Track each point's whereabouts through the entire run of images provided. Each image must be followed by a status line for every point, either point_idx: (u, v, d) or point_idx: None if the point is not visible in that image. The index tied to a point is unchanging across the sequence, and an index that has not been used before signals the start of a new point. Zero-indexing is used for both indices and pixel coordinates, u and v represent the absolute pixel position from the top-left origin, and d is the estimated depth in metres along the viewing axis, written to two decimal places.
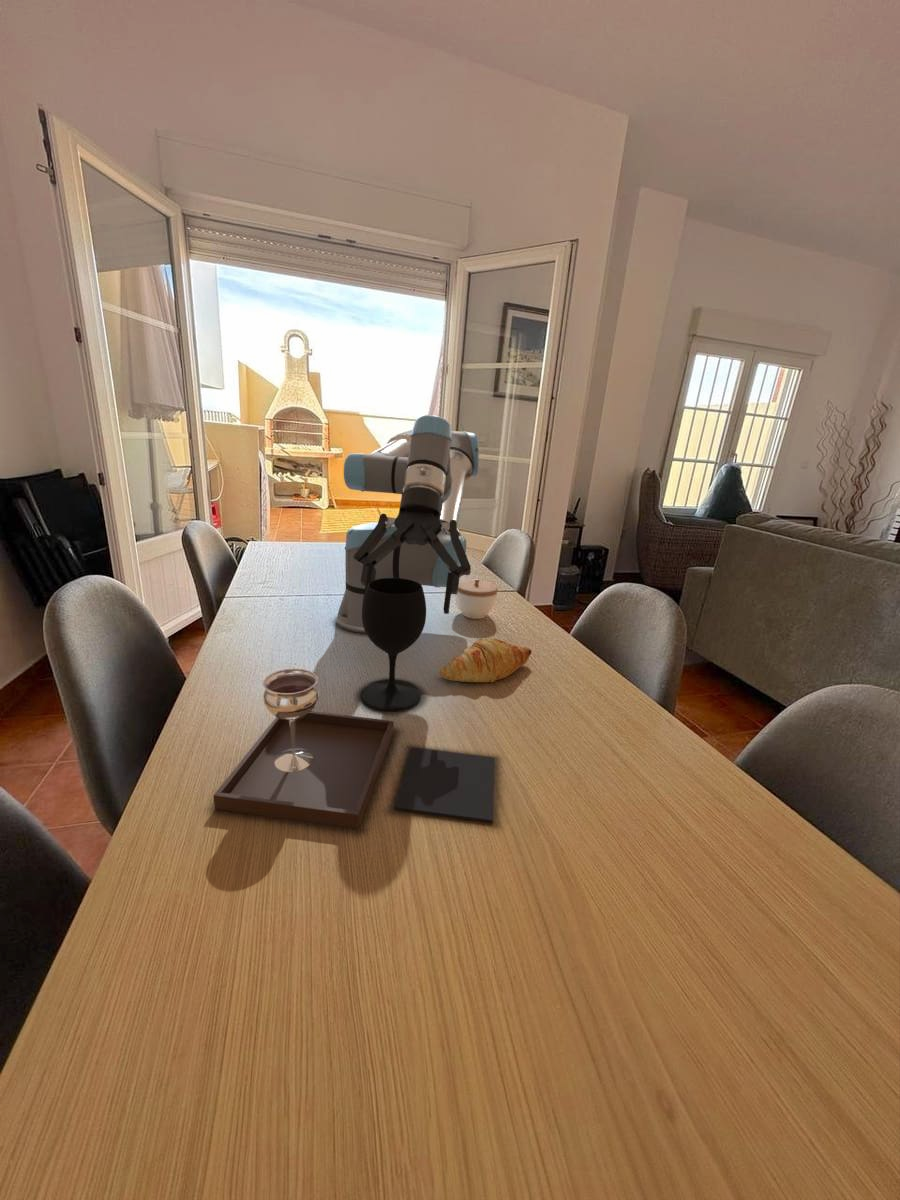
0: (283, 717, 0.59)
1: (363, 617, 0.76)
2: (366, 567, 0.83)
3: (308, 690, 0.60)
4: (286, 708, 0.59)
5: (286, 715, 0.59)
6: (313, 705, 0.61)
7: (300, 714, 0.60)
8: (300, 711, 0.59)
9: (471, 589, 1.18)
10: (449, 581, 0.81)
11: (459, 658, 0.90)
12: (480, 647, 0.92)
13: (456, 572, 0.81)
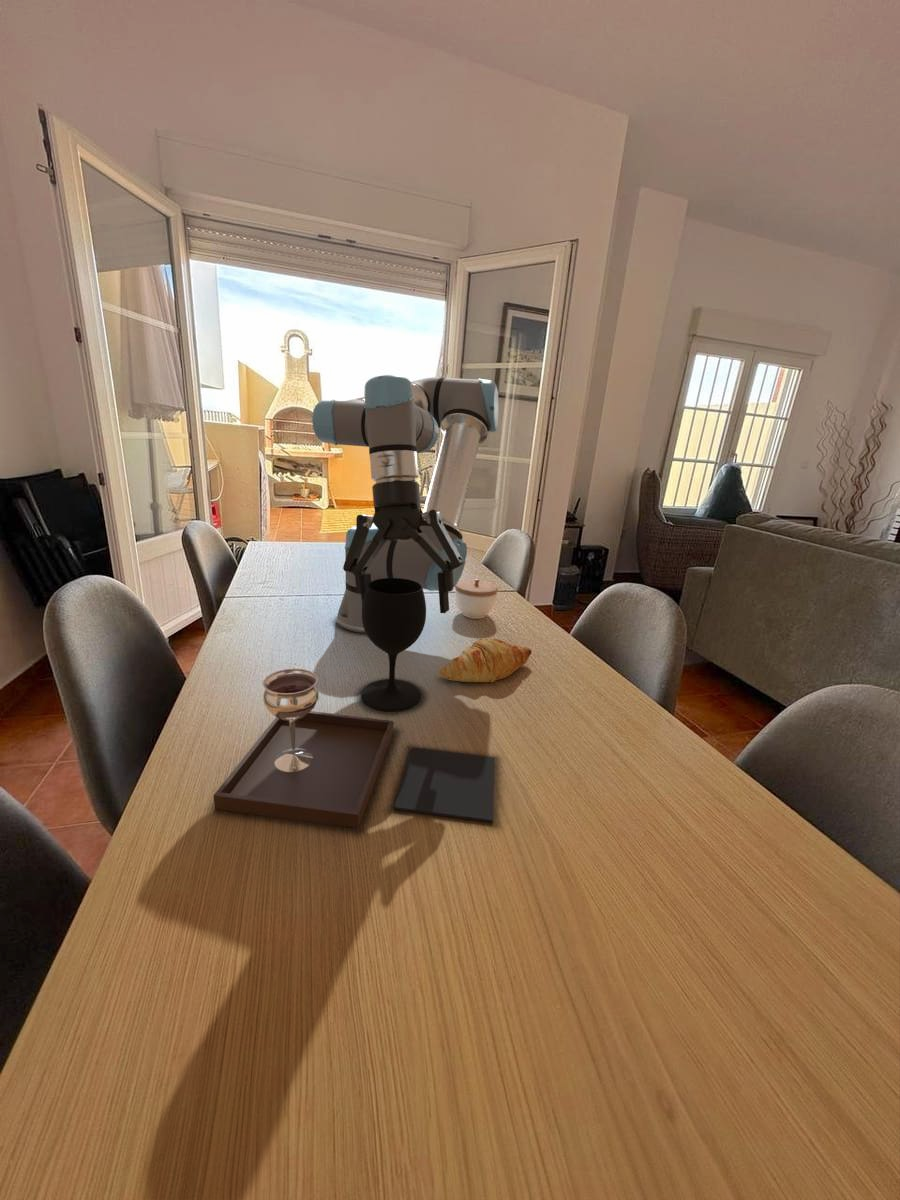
0: (283, 717, 0.59)
1: (363, 617, 0.76)
2: (358, 577, 0.81)
3: (308, 690, 0.60)
4: (286, 708, 0.59)
5: (286, 715, 0.59)
6: (313, 705, 0.61)
7: (300, 714, 0.60)
8: (300, 711, 0.59)
9: (471, 589, 1.18)
10: (440, 582, 0.76)
11: (459, 658, 0.90)
12: (480, 647, 0.92)
13: (446, 571, 0.76)
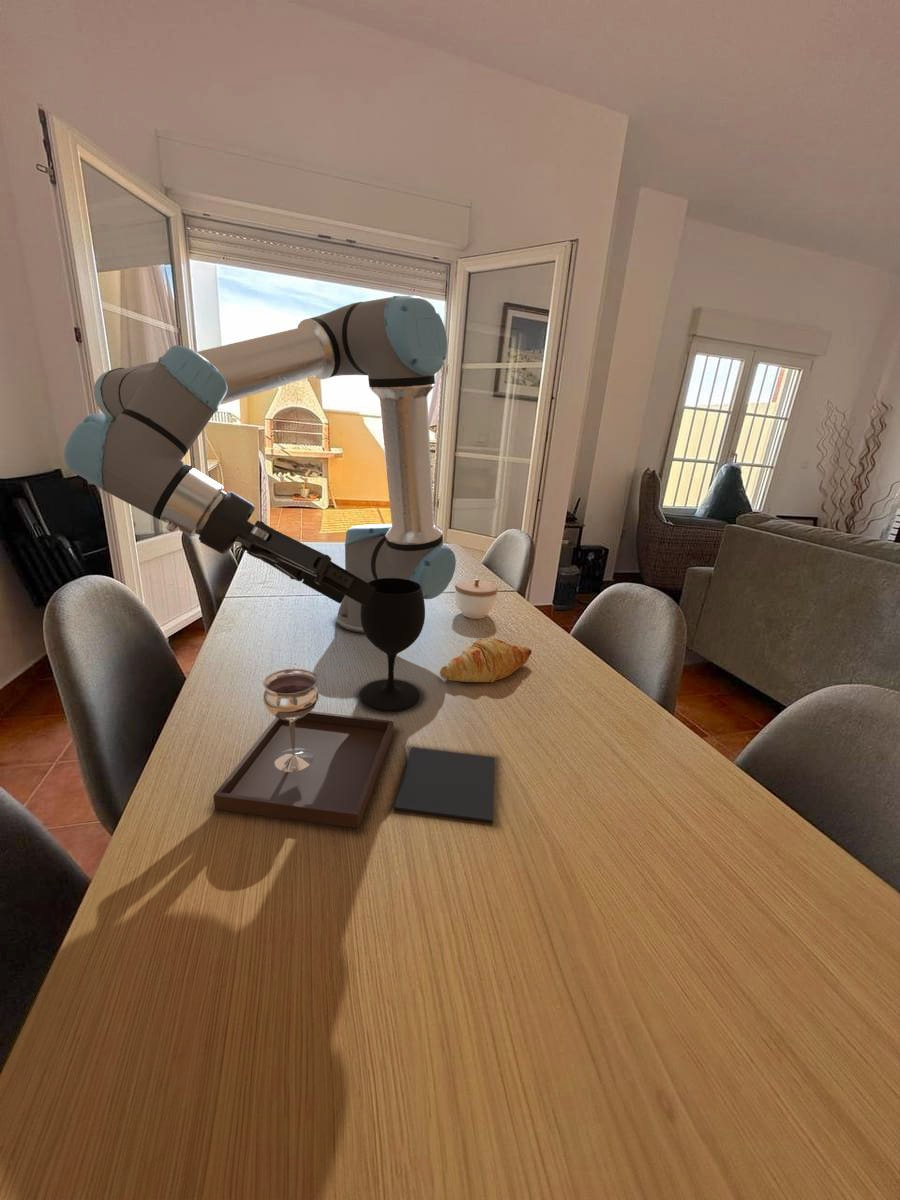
0: (283, 717, 0.59)
1: (362, 618, 0.76)
2: None
3: (308, 690, 0.60)
4: (286, 708, 0.59)
5: (286, 715, 0.59)
6: (313, 705, 0.61)
7: (300, 714, 0.60)
8: (300, 711, 0.59)
9: (471, 589, 1.18)
10: (332, 587, 0.61)
11: (459, 658, 0.90)
12: (480, 647, 0.92)
13: (322, 580, 0.59)
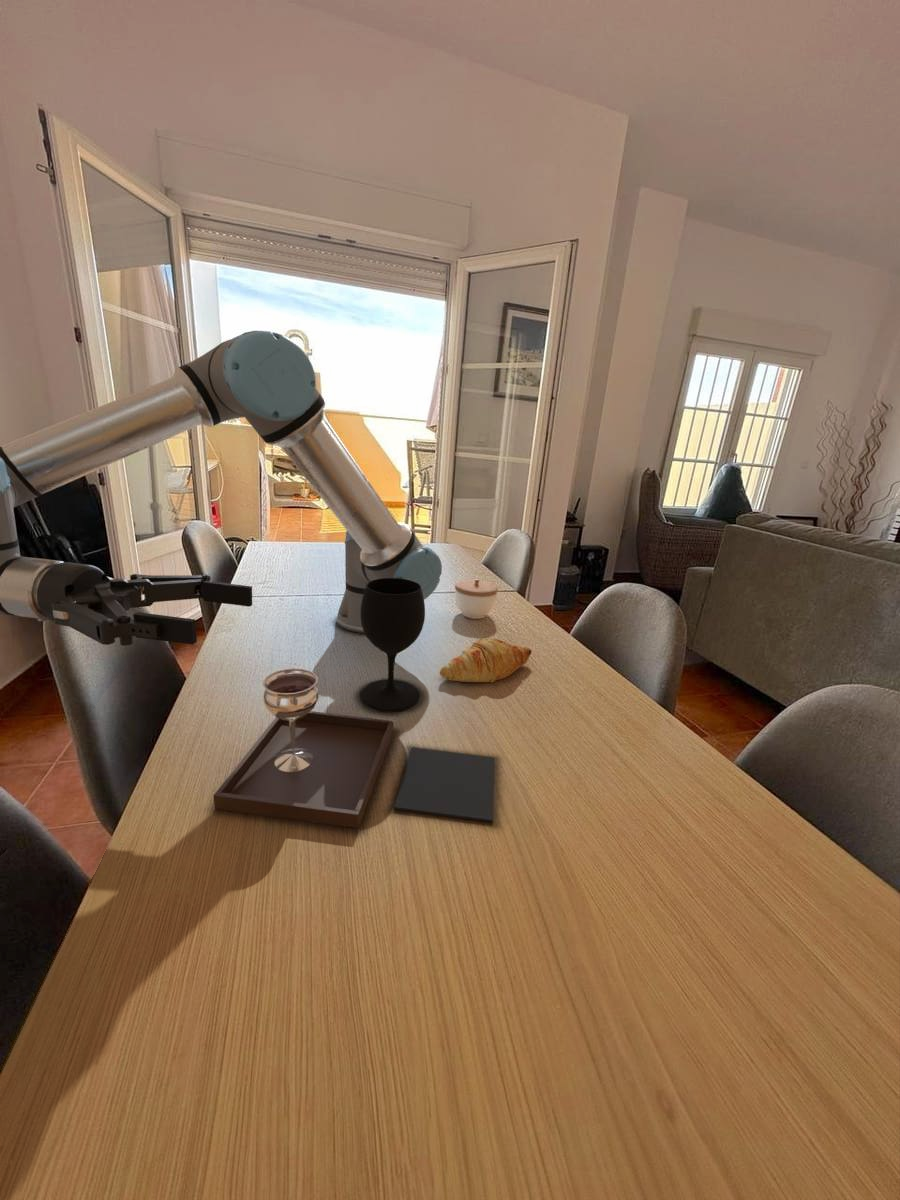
0: (283, 717, 0.59)
1: (362, 618, 0.76)
2: None
3: (308, 690, 0.60)
4: (286, 708, 0.59)
5: (286, 715, 0.59)
6: (313, 705, 0.61)
7: (300, 714, 0.60)
8: (300, 711, 0.59)
9: (471, 589, 1.18)
10: (151, 638, 0.54)
11: (459, 658, 0.90)
12: (480, 647, 0.92)
13: (130, 639, 0.53)
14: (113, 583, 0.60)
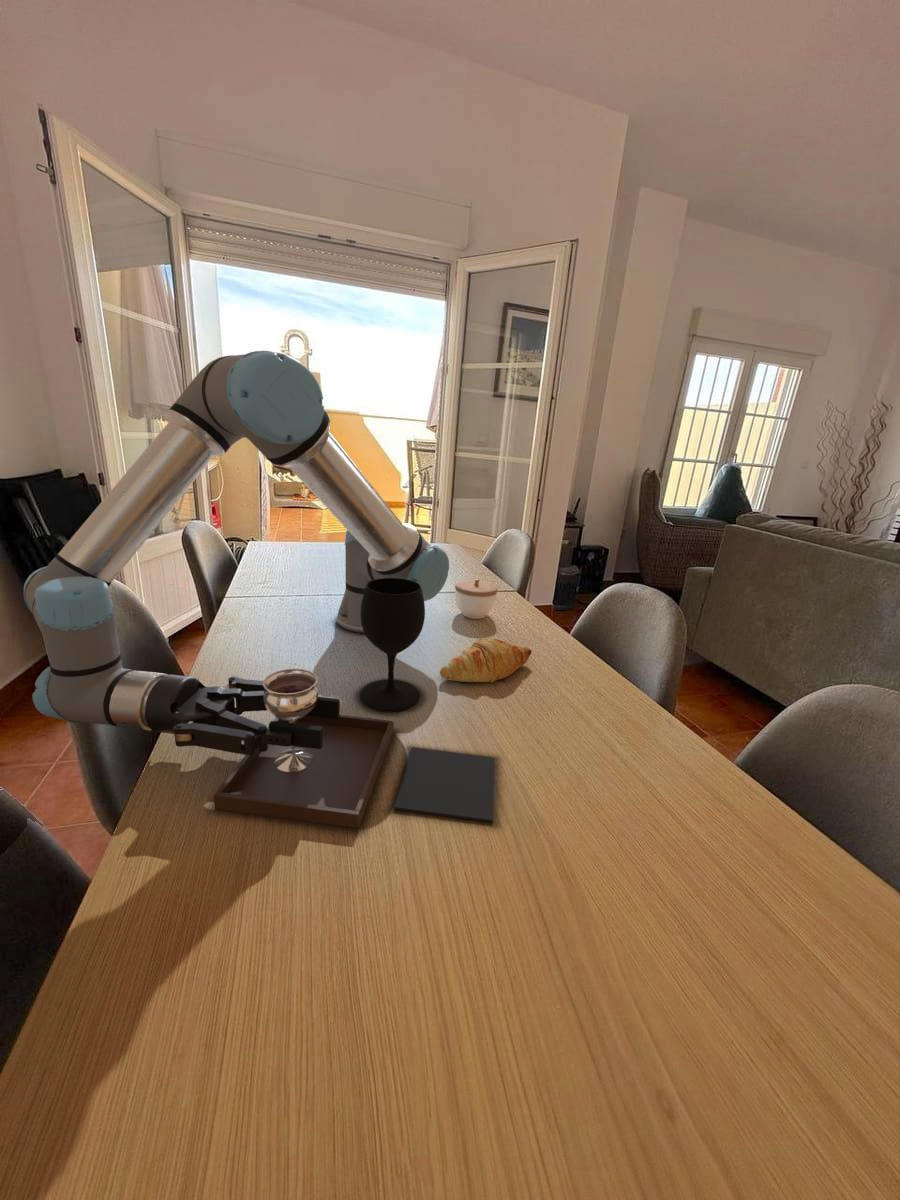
0: (283, 717, 0.59)
1: (362, 618, 0.76)
2: None
3: (308, 690, 0.60)
4: (286, 708, 0.59)
5: (286, 715, 0.59)
6: (313, 705, 0.61)
7: (300, 714, 0.60)
8: (300, 711, 0.59)
9: (471, 589, 1.18)
10: None
11: (459, 658, 0.90)
12: (480, 647, 0.92)
13: (267, 744, 0.59)
14: (210, 694, 0.64)
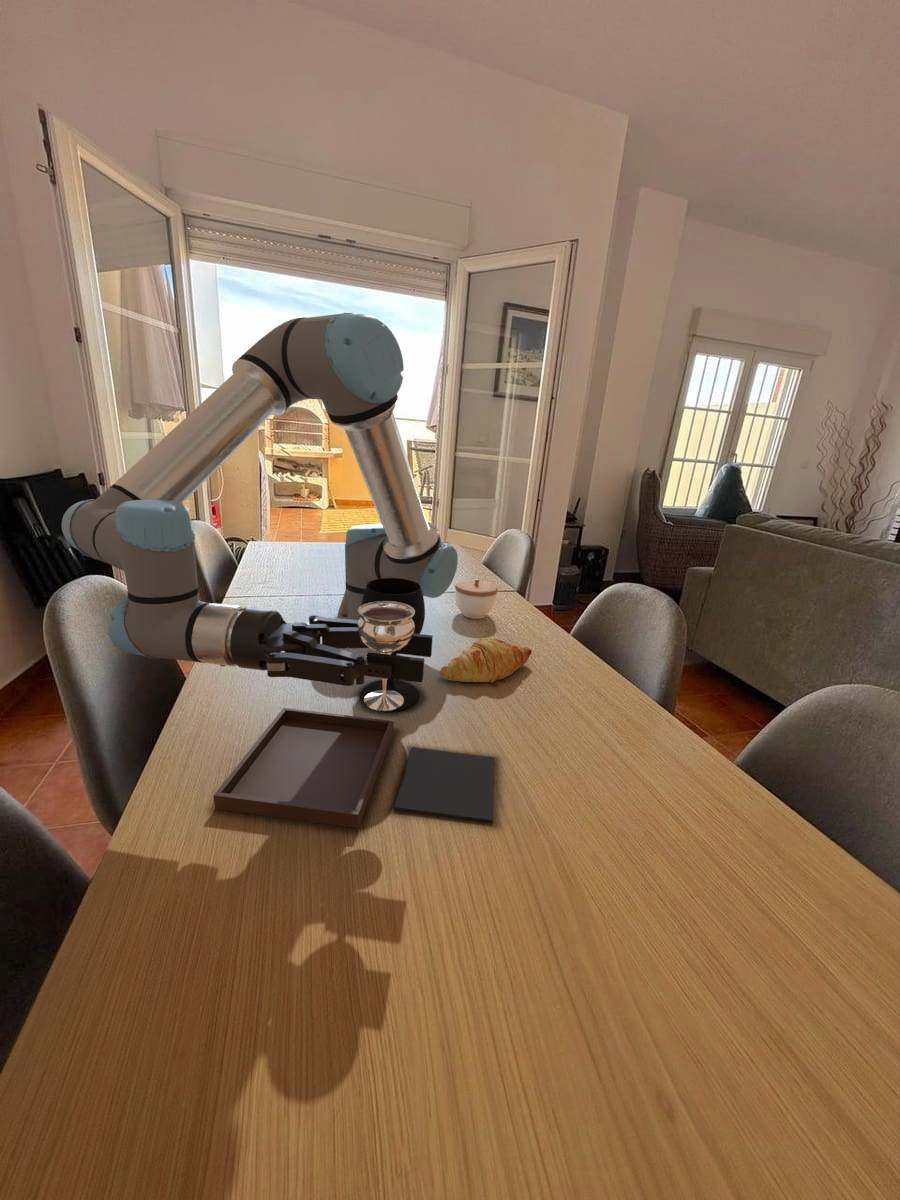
0: (381, 648, 0.55)
1: None
2: None
3: (408, 619, 0.55)
4: (386, 637, 0.54)
5: (385, 646, 0.55)
6: (411, 637, 0.57)
7: (399, 645, 0.55)
8: (399, 641, 0.55)
9: (471, 589, 1.18)
10: (380, 676, 0.55)
11: (459, 658, 0.90)
12: (480, 647, 0.92)
13: None
14: (296, 627, 0.59)
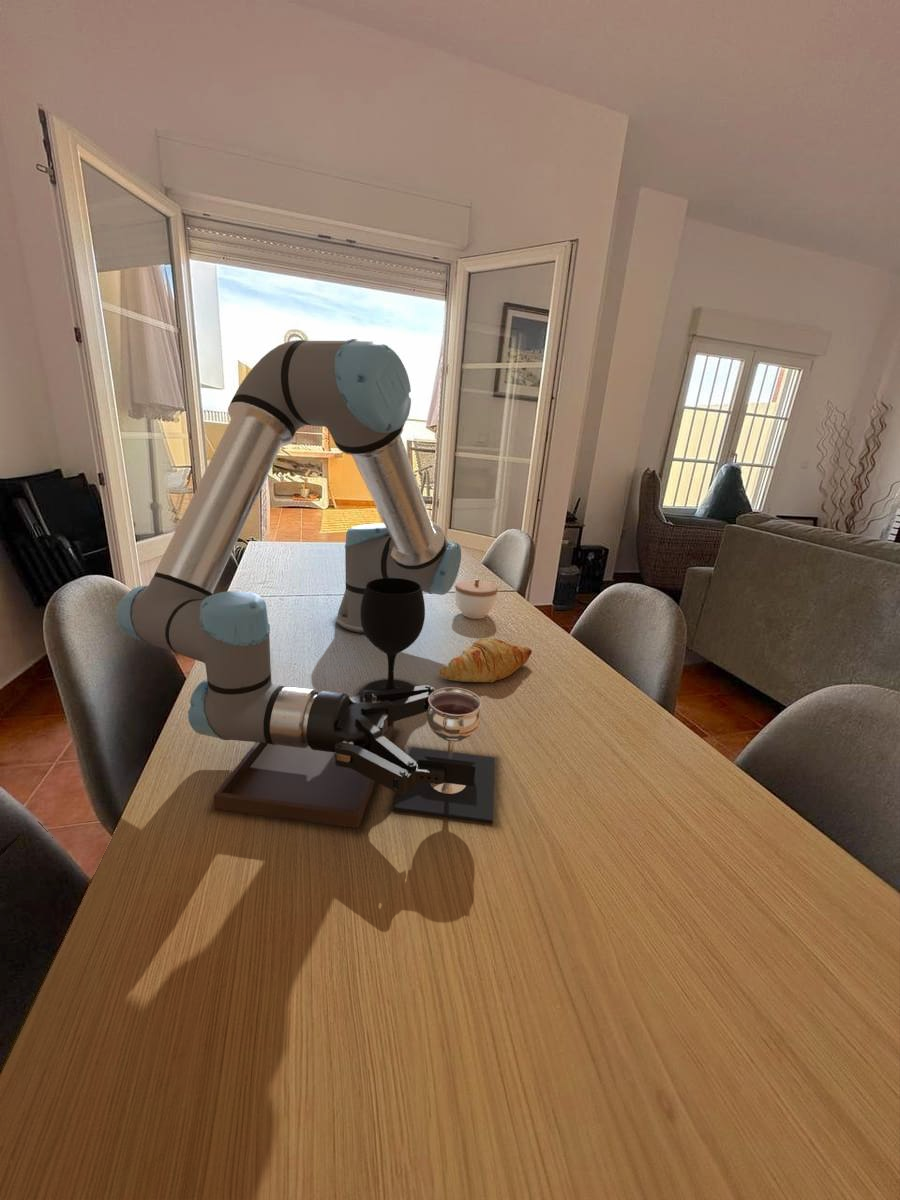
0: (451, 738, 0.58)
1: (362, 618, 0.76)
2: None
3: (477, 711, 0.58)
4: (457, 729, 0.57)
5: (455, 737, 0.58)
6: None
7: (468, 735, 0.58)
8: (469, 732, 0.58)
9: (471, 589, 1.18)
10: None
11: (459, 658, 0.90)
12: (480, 647, 0.92)
13: (415, 783, 0.55)
14: (365, 711, 0.62)
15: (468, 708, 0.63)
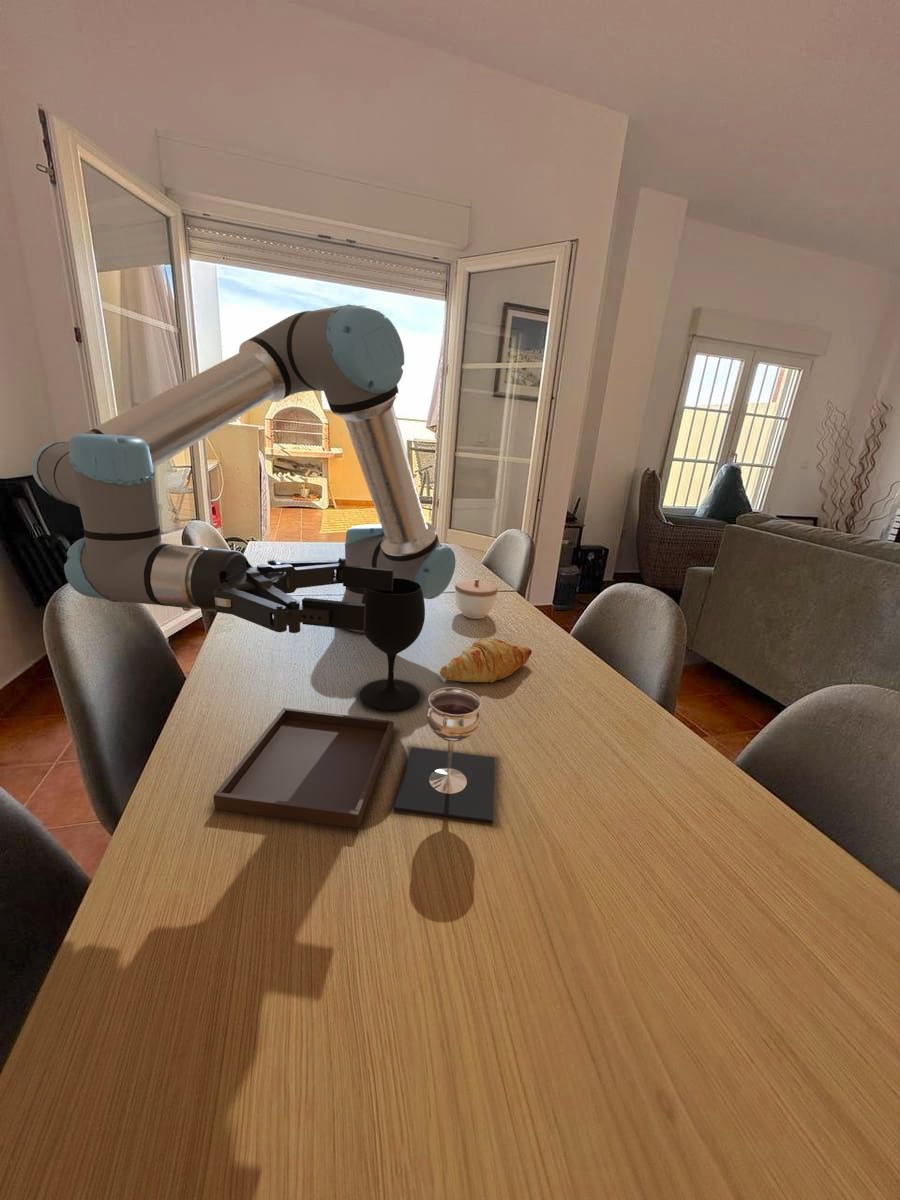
0: (451, 738, 0.58)
1: None
2: None
3: (477, 711, 0.58)
4: (457, 729, 0.57)
5: (455, 737, 0.58)
6: None
7: (468, 735, 0.58)
8: (469, 732, 0.58)
9: (471, 589, 1.18)
10: (318, 624, 0.50)
11: (459, 658, 0.90)
12: (480, 647, 0.92)
13: (299, 626, 0.50)
14: (261, 569, 0.57)
15: (468, 708, 0.63)
